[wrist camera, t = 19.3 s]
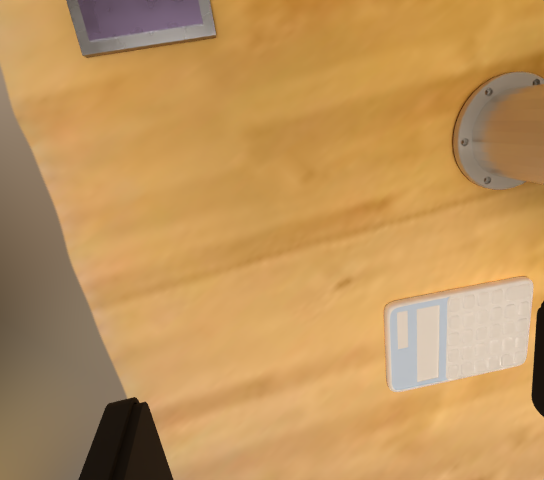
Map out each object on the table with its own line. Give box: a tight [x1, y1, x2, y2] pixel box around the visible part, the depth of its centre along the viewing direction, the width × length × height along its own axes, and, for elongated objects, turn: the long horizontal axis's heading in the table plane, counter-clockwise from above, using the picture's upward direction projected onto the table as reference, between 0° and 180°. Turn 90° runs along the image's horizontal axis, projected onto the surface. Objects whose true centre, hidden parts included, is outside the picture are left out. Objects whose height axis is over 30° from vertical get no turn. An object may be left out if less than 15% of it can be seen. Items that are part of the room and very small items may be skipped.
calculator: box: [384, 277, 533, 392], centre depth 50 cm, size 13×20×2 cm, turn 97°
